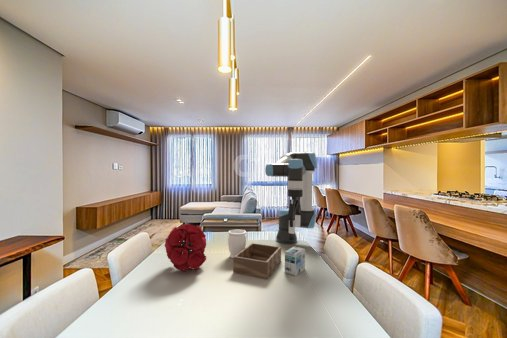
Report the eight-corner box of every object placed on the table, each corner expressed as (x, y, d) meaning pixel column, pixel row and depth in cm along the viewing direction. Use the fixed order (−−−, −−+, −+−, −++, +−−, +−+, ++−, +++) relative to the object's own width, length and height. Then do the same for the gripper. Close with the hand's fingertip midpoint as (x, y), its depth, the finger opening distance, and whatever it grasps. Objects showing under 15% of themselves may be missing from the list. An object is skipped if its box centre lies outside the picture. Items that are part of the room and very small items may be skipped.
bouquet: (170, 272, 133) (153, 264, 107) (179, 230, 144) (166, 214, 118) (208, 275, 133) (200, 268, 107) (214, 233, 145) (208, 218, 119)
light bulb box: (296, 276, 115) (296, 254, 115) (284, 272, 119) (284, 251, 119) (305, 269, 123) (305, 248, 123) (293, 265, 127) (294, 245, 127)
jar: (246, 253, 144) (247, 229, 144) (244, 260, 134) (244, 234, 134) (229, 253, 145) (230, 228, 145) (226, 259, 135) (226, 233, 135)
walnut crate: (251, 256, 140) (252, 242, 140) (281, 261, 133) (281, 247, 133) (233, 272, 118) (233, 256, 118) (267, 279, 111) (267, 262, 111)
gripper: (293, 187, 134) (293, 224, 134) (281, 190, 111) (280, 235, 111) (306, 187, 131) (306, 225, 131) (297, 191, 108) (296, 237, 108)
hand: (294, 230), depth 121 cm, fingers open, 13 cm apart
